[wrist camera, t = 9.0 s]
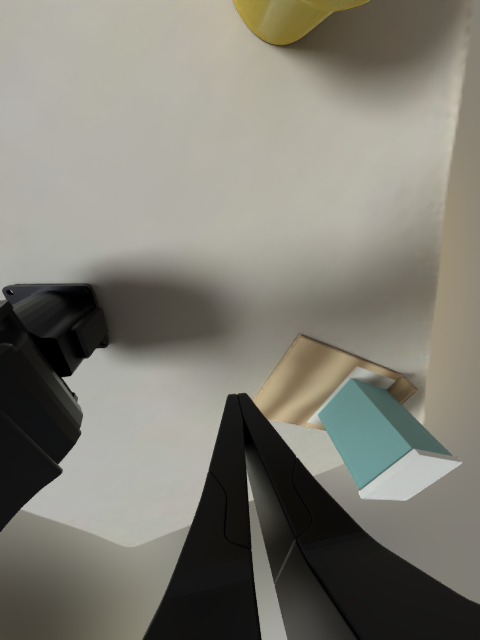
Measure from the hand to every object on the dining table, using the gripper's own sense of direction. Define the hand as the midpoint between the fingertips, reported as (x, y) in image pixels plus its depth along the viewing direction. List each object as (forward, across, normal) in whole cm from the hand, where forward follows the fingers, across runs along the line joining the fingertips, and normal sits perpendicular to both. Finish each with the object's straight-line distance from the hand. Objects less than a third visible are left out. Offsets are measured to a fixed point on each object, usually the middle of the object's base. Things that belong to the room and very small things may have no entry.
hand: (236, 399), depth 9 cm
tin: (+12, -21, +18) cm, 30 cm away
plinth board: (+13, -16, +16) cm, 26 cm away
